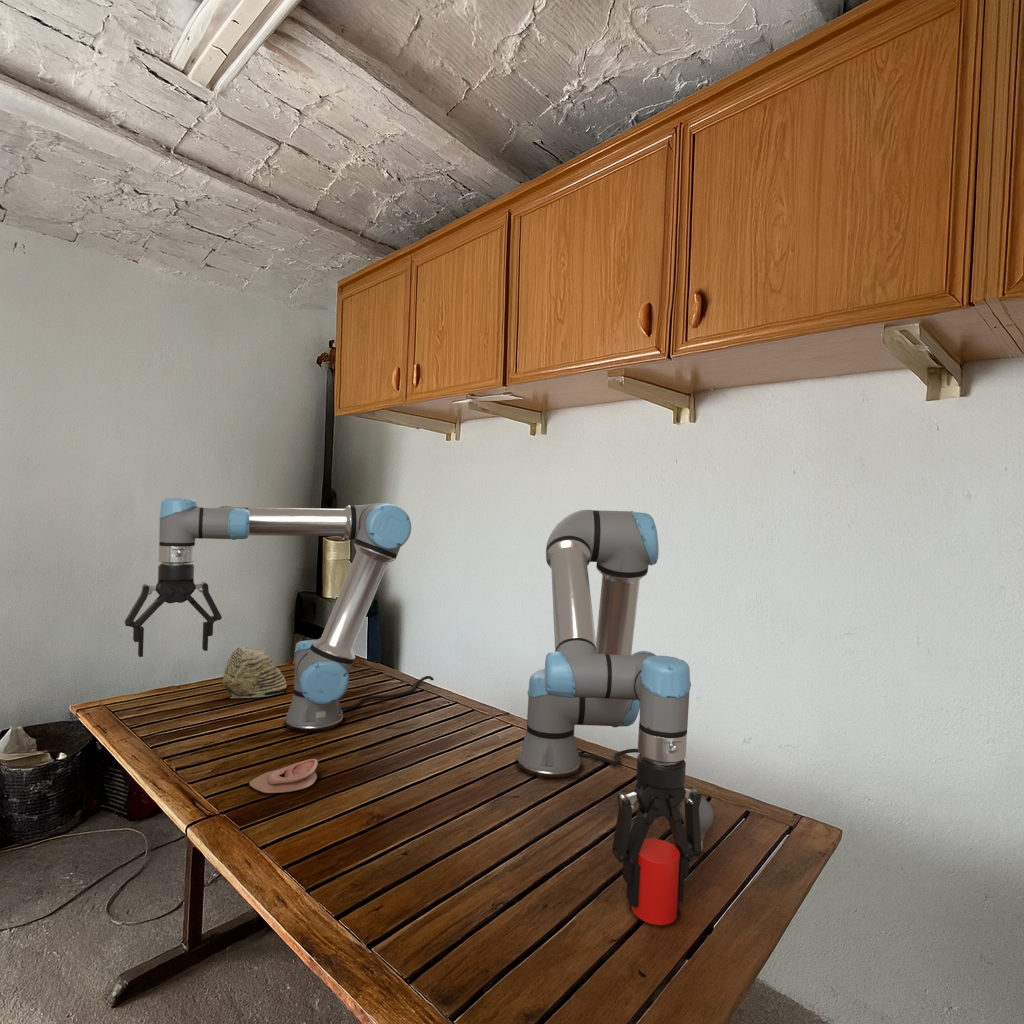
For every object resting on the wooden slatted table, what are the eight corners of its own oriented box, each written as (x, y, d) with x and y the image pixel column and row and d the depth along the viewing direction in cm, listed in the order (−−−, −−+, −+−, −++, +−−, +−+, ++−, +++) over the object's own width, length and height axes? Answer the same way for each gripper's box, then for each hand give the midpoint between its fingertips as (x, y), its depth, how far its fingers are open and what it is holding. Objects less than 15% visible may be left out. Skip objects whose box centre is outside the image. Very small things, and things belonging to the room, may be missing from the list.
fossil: (218, 695, 195) (220, 647, 195) (278, 685, 208) (279, 640, 207) (228, 703, 189) (230, 653, 188) (289, 692, 201) (290, 645, 201)
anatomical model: (241, 770, 135) (272, 750, 146) (240, 789, 135) (271, 767, 146) (297, 779, 132) (324, 757, 144) (297, 798, 132) (324, 775, 144)
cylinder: (634, 892, 105) (637, 834, 105) (678, 902, 103) (681, 843, 103) (628, 918, 99) (631, 857, 99) (675, 929, 97) (678, 867, 96)
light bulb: (674, 841, 122) (676, 790, 121) (704, 841, 122) (707, 790, 122) (685, 859, 116) (688, 805, 115) (717, 859, 116) (719, 805, 116)
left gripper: (115, 566, 140) (112, 662, 140) (236, 563, 154) (233, 650, 154) (113, 562, 146) (110, 654, 146) (229, 560, 160) (226, 644, 161)
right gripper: (612, 770, 94) (605, 922, 95) (730, 762, 99) (723, 906, 100) (593, 750, 102) (587, 891, 102) (704, 743, 107) (698, 878, 107)
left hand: (173, 652), depth 150 cm, fingers open, 13 cm apart
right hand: (654, 898), depth 101 cm, fingers closed on cylinder, 7 cm apart
